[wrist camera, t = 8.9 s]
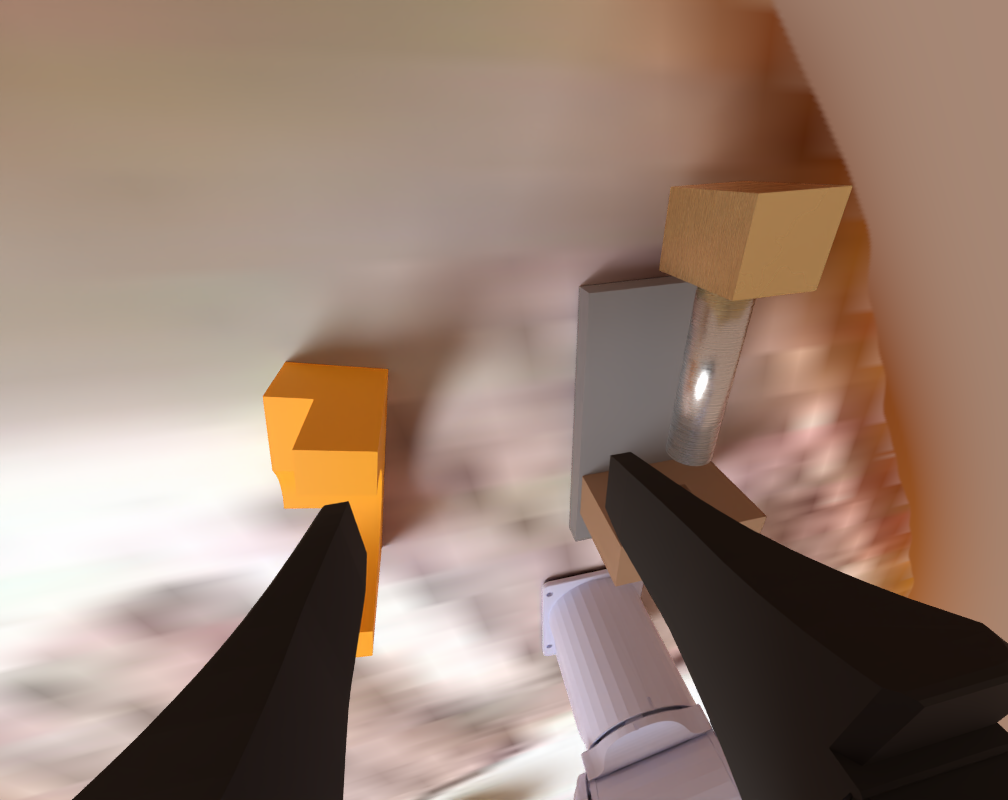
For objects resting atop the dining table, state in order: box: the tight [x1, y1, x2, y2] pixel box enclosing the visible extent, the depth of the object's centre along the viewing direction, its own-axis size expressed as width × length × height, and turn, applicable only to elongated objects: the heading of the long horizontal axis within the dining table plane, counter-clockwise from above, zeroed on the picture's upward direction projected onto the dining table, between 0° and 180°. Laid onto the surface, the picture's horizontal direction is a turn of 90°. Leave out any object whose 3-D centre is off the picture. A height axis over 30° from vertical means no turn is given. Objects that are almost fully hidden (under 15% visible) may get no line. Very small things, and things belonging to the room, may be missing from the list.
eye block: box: [569, 276, 767, 587], centre depth 20 cm, size 16×8×6 cm, turn 3°
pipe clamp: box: [263, 362, 388, 657], centre depth 18 cm, size 12×4×6 cm, turn 170°
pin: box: [659, 181, 852, 466], centre depth 16 cm, size 11×3×4 cm, turn 3°
